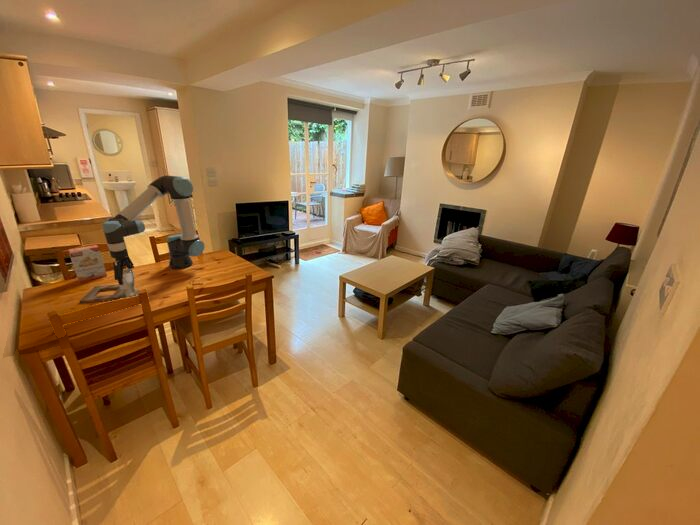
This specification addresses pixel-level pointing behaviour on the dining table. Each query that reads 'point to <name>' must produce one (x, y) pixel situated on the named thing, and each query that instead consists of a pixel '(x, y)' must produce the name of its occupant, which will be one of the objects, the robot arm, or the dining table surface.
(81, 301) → the pocket frame
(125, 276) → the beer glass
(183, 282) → the dining table surface
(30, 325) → the dining table surface
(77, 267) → the cracker box
